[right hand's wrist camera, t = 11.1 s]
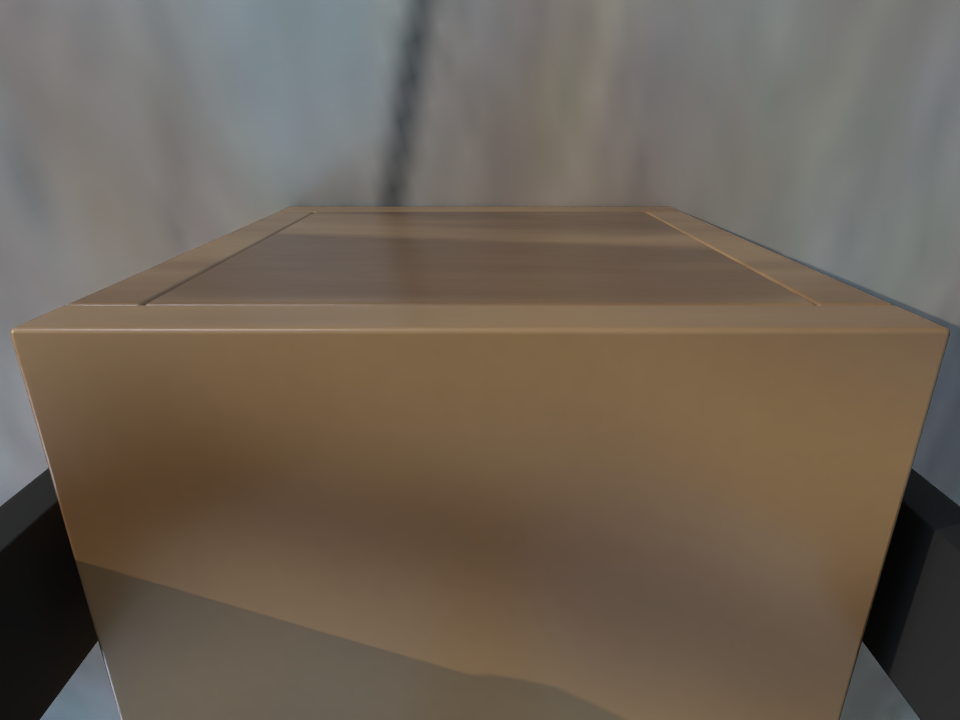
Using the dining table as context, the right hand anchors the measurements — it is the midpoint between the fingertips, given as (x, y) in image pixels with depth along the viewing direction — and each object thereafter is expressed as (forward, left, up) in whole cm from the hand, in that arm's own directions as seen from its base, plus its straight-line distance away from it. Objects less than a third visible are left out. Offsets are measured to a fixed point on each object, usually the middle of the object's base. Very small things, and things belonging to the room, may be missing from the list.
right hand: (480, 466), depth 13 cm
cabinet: (+2, +6, -7) cm, 9 cm away
